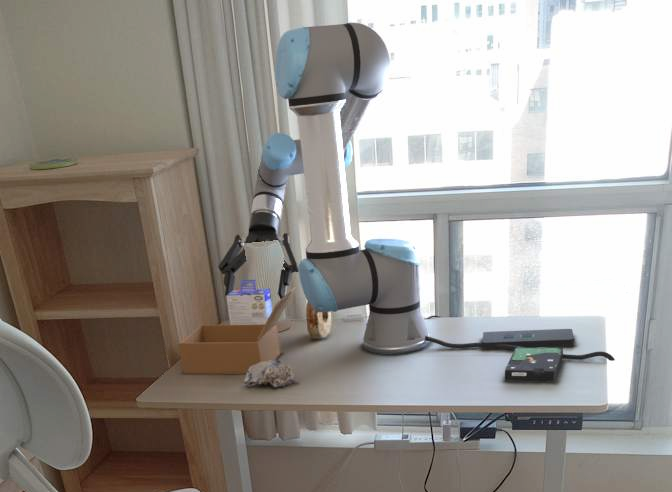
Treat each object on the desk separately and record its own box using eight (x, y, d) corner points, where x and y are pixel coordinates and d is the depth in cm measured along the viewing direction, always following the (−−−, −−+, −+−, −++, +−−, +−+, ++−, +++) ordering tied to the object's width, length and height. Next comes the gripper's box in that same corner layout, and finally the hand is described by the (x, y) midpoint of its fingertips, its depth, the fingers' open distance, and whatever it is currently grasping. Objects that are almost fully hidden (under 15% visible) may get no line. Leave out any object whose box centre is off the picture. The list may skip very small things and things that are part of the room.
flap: (276, 320, 214) (277, 321, 214) (257, 339, 203) (258, 340, 203) (294, 286, 209) (296, 287, 209) (276, 303, 198) (277, 304, 198)
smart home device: (483, 331, 214) (572, 327, 211) (483, 338, 215) (571, 335, 212) (482, 342, 207) (574, 338, 204) (482, 349, 208) (573, 346, 205)
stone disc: (320, 344, 222) (316, 301, 217) (306, 343, 223) (302, 301, 218) (335, 330, 230) (331, 289, 225) (321, 330, 231) (317, 289, 226)
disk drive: (556, 384, 187) (562, 359, 198) (556, 370, 185) (563, 346, 197) (504, 383, 190) (514, 358, 201) (504, 369, 188) (514, 345, 200)
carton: (280, 353, 218) (277, 324, 215) (261, 373, 207) (257, 342, 203) (205, 353, 223) (201, 324, 219) (183, 373, 212) (178, 343, 208)
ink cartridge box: (277, 338, 229) (269, 277, 222) (271, 345, 225) (263, 283, 217) (238, 338, 231) (230, 279, 224) (232, 345, 227) (223, 285, 219)
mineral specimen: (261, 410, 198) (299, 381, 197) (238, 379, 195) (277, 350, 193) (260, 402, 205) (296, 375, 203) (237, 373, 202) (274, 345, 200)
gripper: (317, 226, 230) (307, 304, 226) (223, 230, 236) (212, 306, 232) (309, 207, 223) (299, 288, 219) (213, 212, 229) (201, 290, 225)
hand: (254, 297), depth 226 cm, fingers open, 13 cm apart
